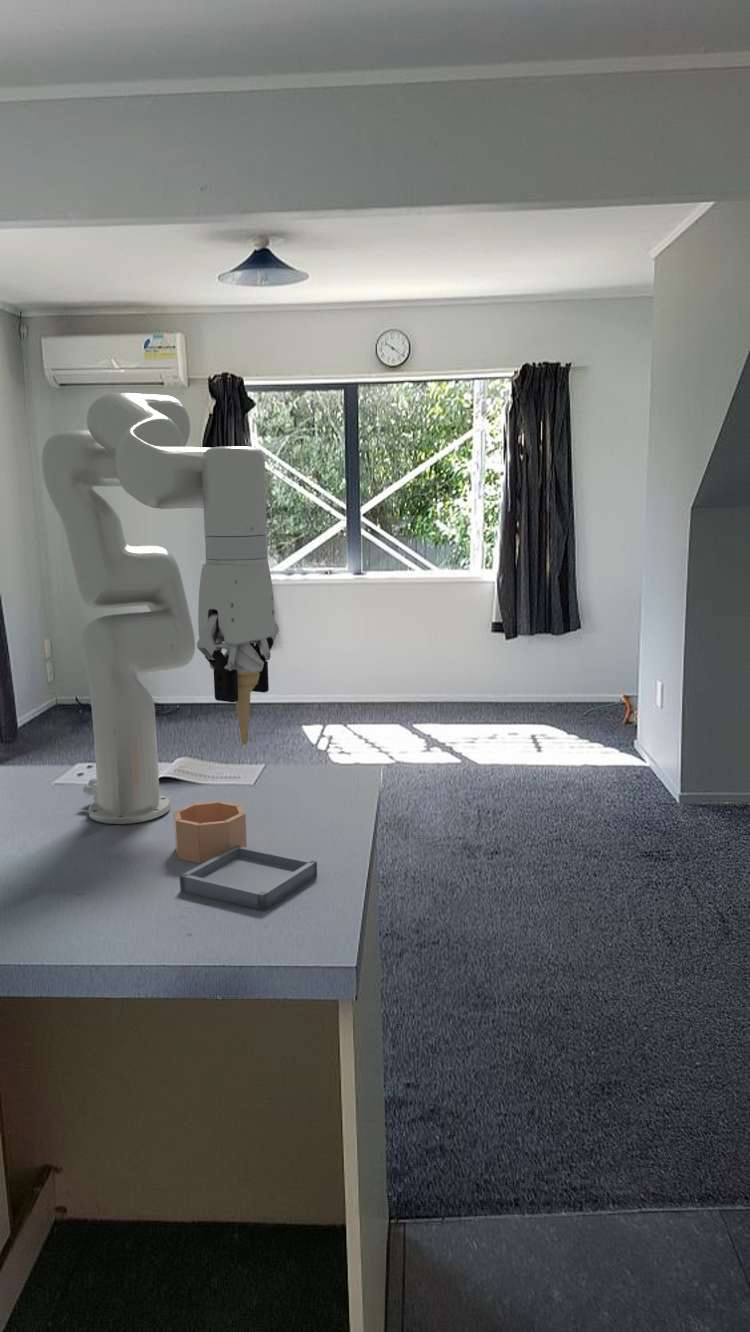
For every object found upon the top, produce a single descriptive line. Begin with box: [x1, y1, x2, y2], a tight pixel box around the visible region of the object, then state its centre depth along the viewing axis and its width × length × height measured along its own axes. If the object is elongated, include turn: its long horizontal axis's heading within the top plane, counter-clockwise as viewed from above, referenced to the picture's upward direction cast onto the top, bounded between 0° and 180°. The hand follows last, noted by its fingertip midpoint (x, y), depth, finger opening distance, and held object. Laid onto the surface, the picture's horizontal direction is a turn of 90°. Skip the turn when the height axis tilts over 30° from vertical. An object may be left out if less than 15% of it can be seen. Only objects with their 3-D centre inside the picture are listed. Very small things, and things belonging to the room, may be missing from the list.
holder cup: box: [173, 800, 248, 865], centre depth 135 cm, size 10×10×6 cm
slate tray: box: [179, 845, 318, 912], centre depth 124 cm, size 13×12×2 cm
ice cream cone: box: [223, 643, 264, 746], centre depth 119 cm, size 6×6×15 cm
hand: (242, 694), depth 120 cm, fingers closed on ice cream cone, 5 cm apart
